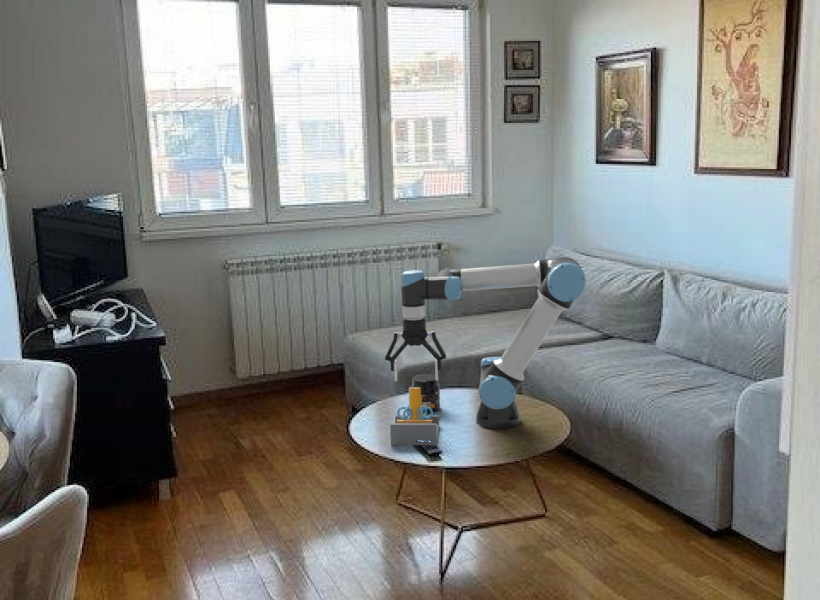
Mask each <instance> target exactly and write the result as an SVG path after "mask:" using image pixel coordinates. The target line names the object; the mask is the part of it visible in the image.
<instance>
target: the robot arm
mask: <svg viewBox="0 0 820 600" xmlns="http://www.w3.org/2000/svg"><path fill="white" fill-rule="evenodd" d="M400 278H401V279H400V281H401V283H400V288H401V289H400V290H401V308H402V309H401V311H402V312H401V313H402V314H401V315H402V318H403V319H402V332H398V331H394V333H393V339H392V341H391V343H390V346H389V347H388V350H387V352H386V355H385V357H384V360H385V361H388V362H390V371H391V372H394V382H397V381H398V361H397V360H396V359H397V358H398V357H399V356H400V354H401V353H402V352H403V351H404V350H405V349H406V347H407V346H410V347H413V346H418V347H420V346H421V345H422V346H423V347H424V348H426V350H427V351H428V352H429V353H430V354H431V355H432V356H433V358H435V359H434V371H435V373H434V375H435V377H436V380H438V381H439V371H441V370H442V360H445V359H446V360H447V354H446V352H445V350H444V348H443V347H442V345H441V343H440V341H439V339H438V337H437V335H436V334H437V333H436V331H435V330H432V331H427V324H426V323H427V322H426V321H427V320H426V318H425V317H426V302H425V301H426V300H427V301H430V300H431V301H437V300H439V301H443V300H444V301H446V300H447V301H448V300H449V301H453V300H459V299H460V298H461V297H462V292H468V291H481V290H482V291H483V290H493V289H495V290H498V289H509V288H511V289H513V288H525V287H537V296H538V298H537V299H536V300H535V302H534V304H533V306H532V307H531V309H530V311H529V312H528V313H527V315H526V317H525V318H524V320H523V322H522V323H521V325H520V326H519V328H518V330H517V331H516V333H515V334H514V336H513V337H512V339H511V340H510V342H509V344H508V346H507V347H506V349H505V350H504V352H503V353H502V356H490V357H489V356H487V357H483V358H482V359H481V360H480V378H479V379H480V380H479V385H478V391H477V392H478V395H479V398H480V403H479V407H478V409H477V412H476V416H475V417H476V419H475V421H476V423H477V425H479V426H480V427H483V428H488V429H498V430H501V429H503V430H505V429H511V428H514V427H516V426H518V425H520V423H521V415H520V411H519V409H518V406H517V403H516V392H517V391H518V389H519V388H520V387H521V385H522V383H523V381H525V375H524V372H525V370H526V368H527V367H528V365H529V363H530V362H531V360H532V359H533V357H534V355H535V354H536V352H537V351H538V350H539V348H540V346H541V344H542V343H543V341H544V340H545V339H546V337H547V335H548V333H549V332H550V330H551V329H552V327H553V326H554V324H555V322H556V321H557V319H558V318H559V316H560V314H561V313H562V312H563V311H568V310H569V309H570V308H571V306H572V305H573V303H574V302H575V301H576V300H577V299H578V298H579V297H580V296H581V295H582V293H583V292H584V289H585V287H586V275H585V272H584V270H583V269H582V266H581V265H580V264H579V262H578V261H576V260H575V259H573V258H571V257H567V256H562V257H561V256H559V257H553V258H546V259H538V260H537V261H536V262H533V263H523V264H510V265H509V264H508V265H497V266H496V265H495V266H483V267H471V268H459V269H458V268H457V269H452V268H443V269H441V270H439V272H438V273H437V274H436V276H425V273H424V271H422V270H420V269H419V270H417V269H411V270H406V271H403V272H402V273H401V277H400ZM427 337H429V339H432V341H433V343H434V345H435V347H436V349H437V350H438V352H439V353H438V352H437V351H436V350H435V349H434V348H433V346H432V345H431V344H430V343H429V342H428V341H427V340H426V339H427ZM400 338H402V339H403V340H404V341H403V342H402V344H401V345H400V346H399V347H398V348H397V349H396V351H395V352H394V353H393V355H391V354H392V352H393V350H394V348H395V346H396V344H397V342H398V340H400Z"/></svg>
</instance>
